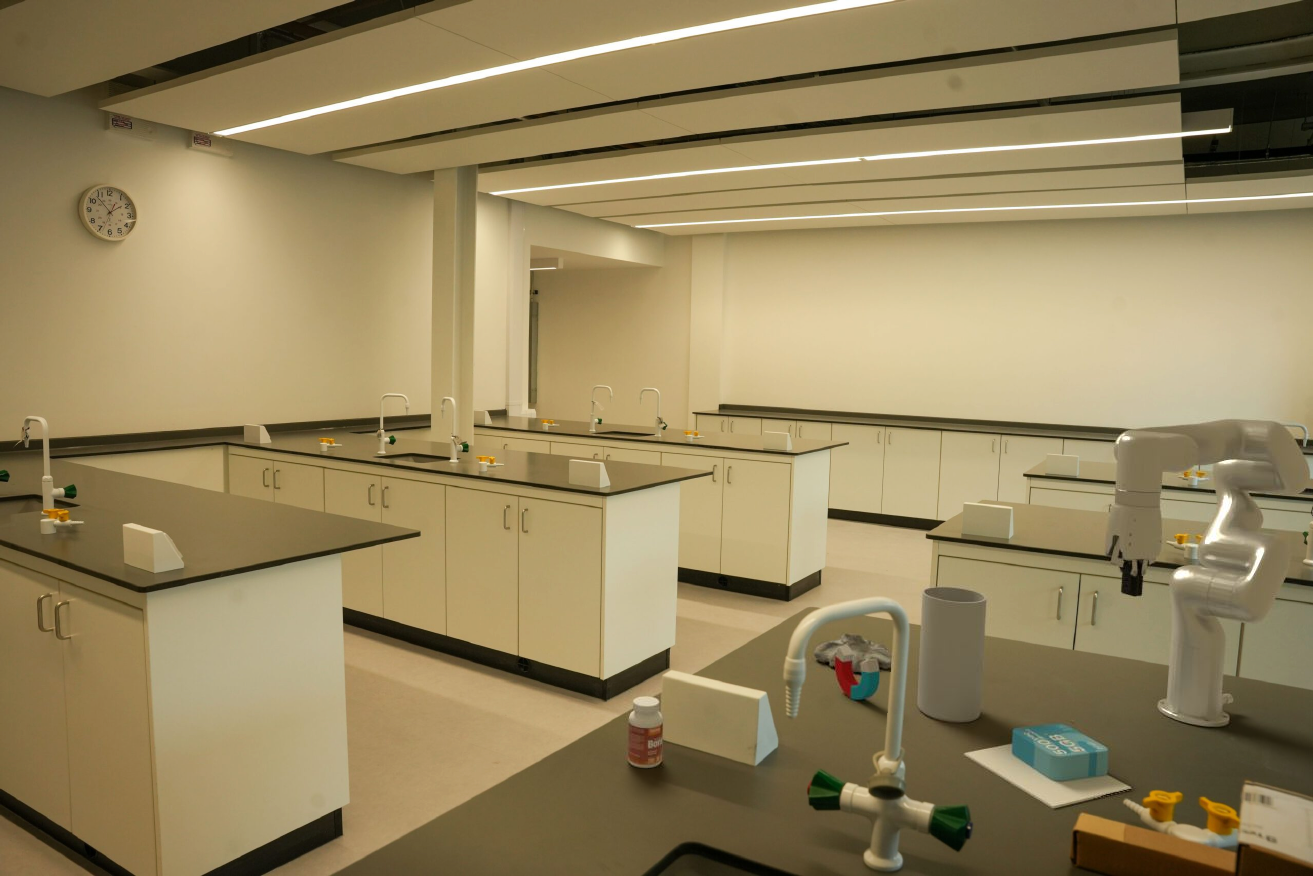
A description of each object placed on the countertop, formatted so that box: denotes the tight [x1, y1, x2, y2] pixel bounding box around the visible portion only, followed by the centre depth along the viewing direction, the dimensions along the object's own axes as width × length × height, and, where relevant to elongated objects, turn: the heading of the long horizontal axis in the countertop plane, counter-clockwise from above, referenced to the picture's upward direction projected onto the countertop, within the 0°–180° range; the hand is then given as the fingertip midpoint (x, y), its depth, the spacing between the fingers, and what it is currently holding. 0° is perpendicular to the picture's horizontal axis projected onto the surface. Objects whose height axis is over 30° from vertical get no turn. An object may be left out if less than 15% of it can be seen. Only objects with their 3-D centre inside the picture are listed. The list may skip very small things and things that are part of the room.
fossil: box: [813, 633, 893, 673], centre depth 201 cm, size 18×11×15 cm
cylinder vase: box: [916, 586, 987, 724], centre depth 171 cm, size 12×12×25 cm
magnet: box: [834, 645, 881, 701], centre depth 178 cm, size 12×3×10 cm, turn 26°
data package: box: [1011, 723, 1109, 781], centre depth 149 cm, size 12×4×12 cm
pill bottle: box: [627, 695, 664, 769], centre depth 147 cm, size 6×6×11 cm
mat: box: [963, 743, 1132, 810], centre depth 146 cm, size 18×20×1 cm
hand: (1131, 594), depth 157 cm, fingers closed
